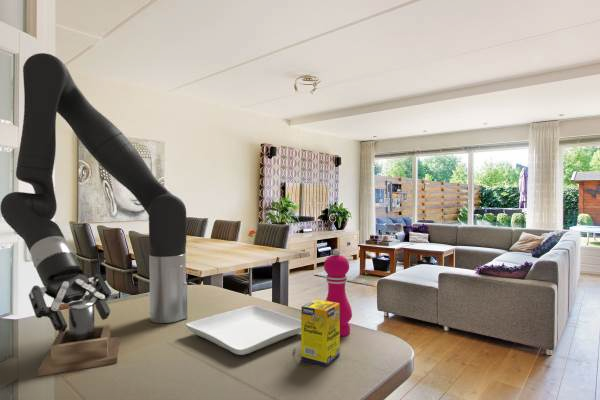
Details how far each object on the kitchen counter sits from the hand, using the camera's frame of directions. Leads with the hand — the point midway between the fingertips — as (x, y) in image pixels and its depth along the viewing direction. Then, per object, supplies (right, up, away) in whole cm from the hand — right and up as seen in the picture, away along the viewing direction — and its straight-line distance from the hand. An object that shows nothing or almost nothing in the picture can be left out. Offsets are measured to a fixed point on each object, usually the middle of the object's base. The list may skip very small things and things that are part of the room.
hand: (86, 323), depth 75 cm
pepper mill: (+52, -7, +14) cm, 54 cm away
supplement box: (+48, -7, 0) cm, 48 cm away
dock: (-1, -7, +1) cm, 7 cm away
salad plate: (+31, -7, +12) cm, 34 cm away
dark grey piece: (-1, -6, +1) cm, 6 cm away
